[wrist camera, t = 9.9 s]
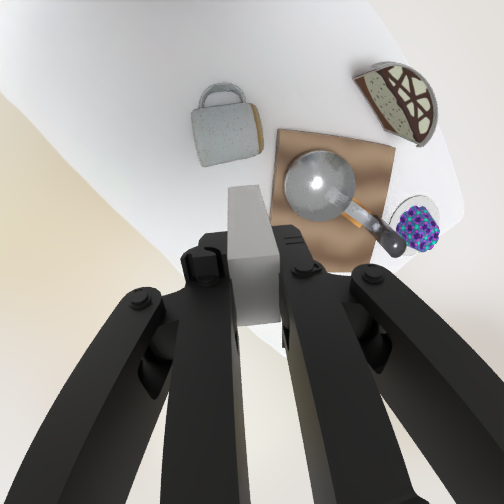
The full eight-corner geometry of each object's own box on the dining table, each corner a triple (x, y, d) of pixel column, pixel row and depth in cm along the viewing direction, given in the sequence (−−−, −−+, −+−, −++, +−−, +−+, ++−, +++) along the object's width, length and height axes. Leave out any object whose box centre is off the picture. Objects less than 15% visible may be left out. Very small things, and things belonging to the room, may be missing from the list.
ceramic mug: (261, 150, 39) (268, 159, 32) (204, 161, 39) (198, 173, 32) (248, 79, 34) (252, 71, 27) (189, 91, 34) (180, 86, 27)
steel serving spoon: (269, 194, 40) (278, 215, 33) (309, 135, 36) (328, 143, 29) (361, 252, 45) (381, 279, 38) (397, 204, 41) (424, 225, 35)
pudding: (398, 264, 51) (411, 279, 46) (376, 218, 46) (391, 232, 41) (442, 231, 48) (457, 243, 43) (426, 182, 43) (444, 192, 38)
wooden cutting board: (278, 129, 37) (280, 130, 36) (389, 145, 39) (396, 148, 37) (264, 265, 48) (266, 271, 46) (362, 266, 50) (366, 272, 48)
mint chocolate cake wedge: (413, 119, 37) (453, 128, 28) (388, 137, 39) (425, 150, 30) (375, 53, 32) (411, 45, 23) (346, 70, 33) (378, 64, 25)
